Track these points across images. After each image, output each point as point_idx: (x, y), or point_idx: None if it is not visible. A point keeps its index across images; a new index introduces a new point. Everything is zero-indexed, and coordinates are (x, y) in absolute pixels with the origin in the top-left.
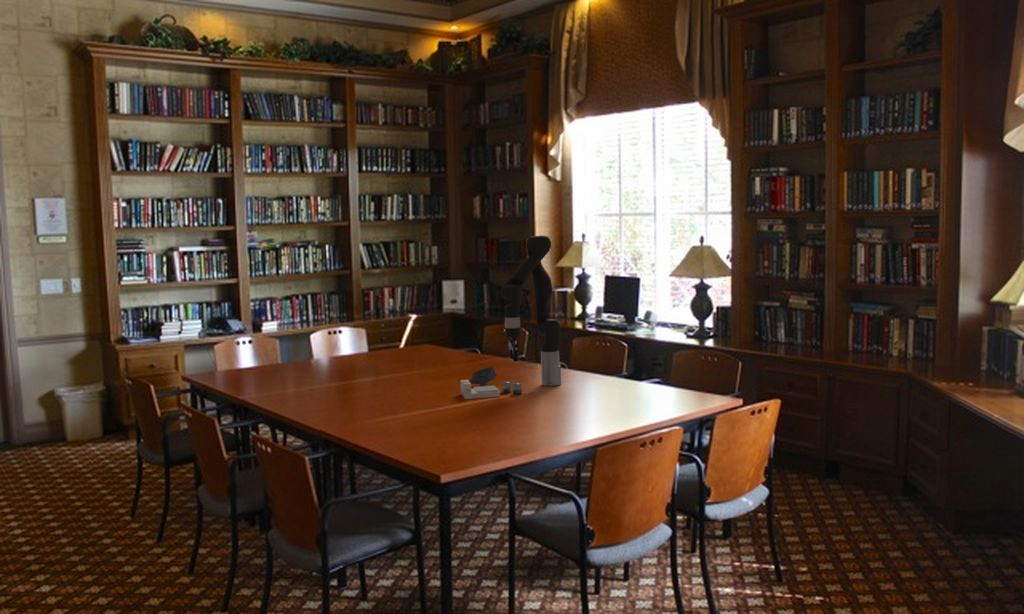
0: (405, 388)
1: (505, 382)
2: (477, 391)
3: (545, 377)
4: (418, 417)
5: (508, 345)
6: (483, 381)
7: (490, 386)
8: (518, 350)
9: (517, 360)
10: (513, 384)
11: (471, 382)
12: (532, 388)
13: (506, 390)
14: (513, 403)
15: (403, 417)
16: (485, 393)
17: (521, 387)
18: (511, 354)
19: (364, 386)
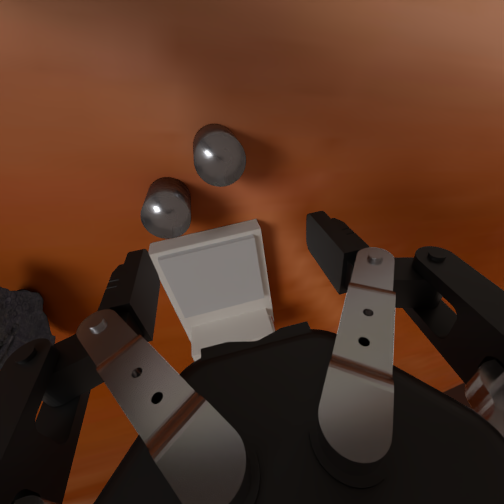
0: (102, 433)
1: (171, 221)
2: (256, 297)
3: None
4: (410, 346)
5: (54, 434)
6: (23, 308)
7: (179, 271)
8: (463, 265)
9: (323, 215)
10: (235, 180)
11: (53, 340)
12: (40, 36)
13: (190, 202)
14: (394, 166)
15: (395, 363)
16: (266, 271)
17: (225, 130)
18: (149, 300)
19: (85, 478)
